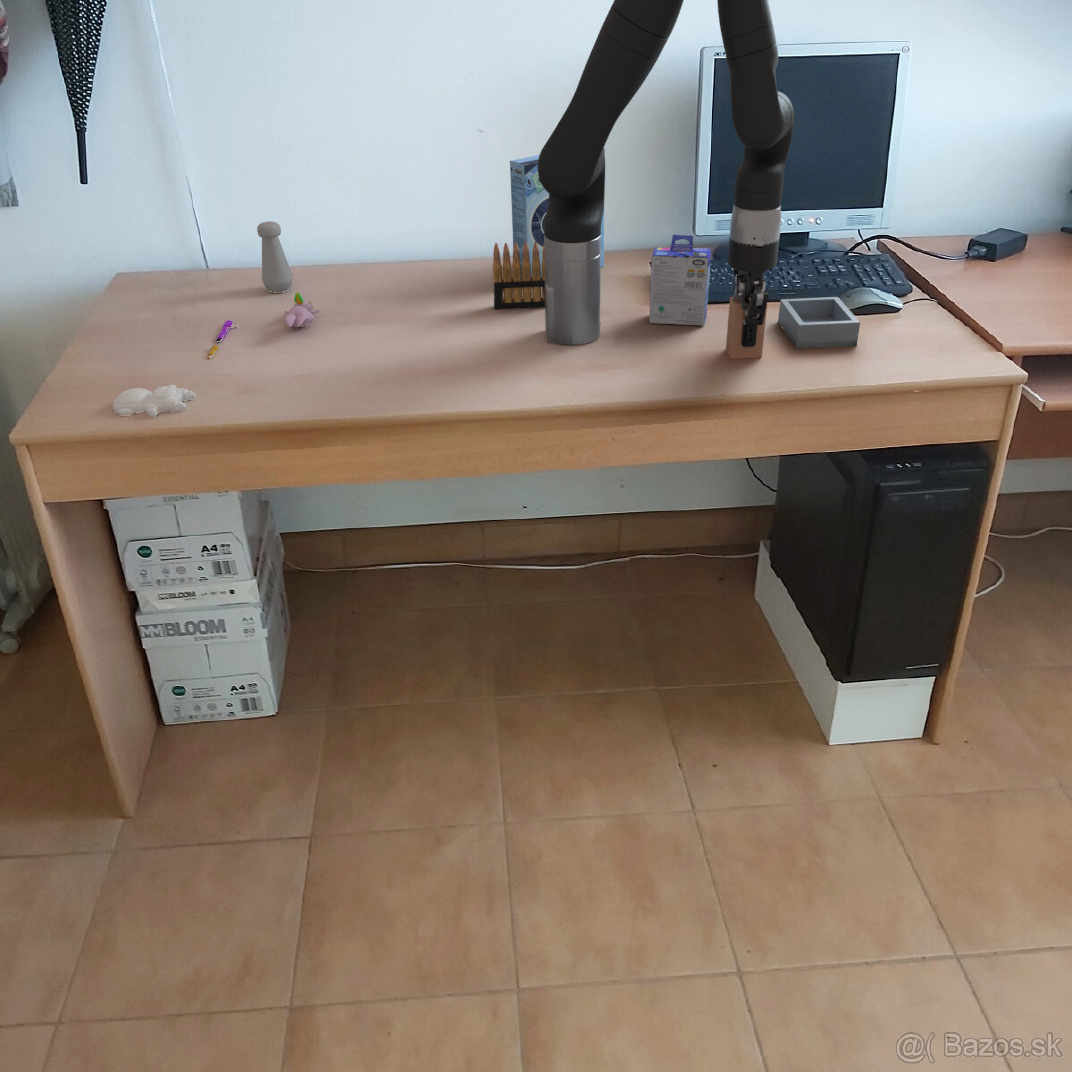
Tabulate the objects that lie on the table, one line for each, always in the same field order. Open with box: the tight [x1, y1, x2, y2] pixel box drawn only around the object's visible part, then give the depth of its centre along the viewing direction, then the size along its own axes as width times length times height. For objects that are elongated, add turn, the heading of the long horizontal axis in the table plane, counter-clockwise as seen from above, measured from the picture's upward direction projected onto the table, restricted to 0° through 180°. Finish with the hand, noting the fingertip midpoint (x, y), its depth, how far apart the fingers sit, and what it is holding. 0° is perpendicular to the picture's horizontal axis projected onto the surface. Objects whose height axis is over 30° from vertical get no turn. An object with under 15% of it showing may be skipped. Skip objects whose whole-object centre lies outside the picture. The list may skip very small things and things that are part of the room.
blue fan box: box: [509, 147, 606, 278], centre depth 193 cm, size 20×5×23 cm, turn 127°
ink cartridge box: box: [648, 234, 712, 326], centre depth 173 cm, size 10×6×14 cm, turn 78°
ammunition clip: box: [492, 241, 545, 311], centre depth 182 cm, size 11×2×12 cm, turn 93°
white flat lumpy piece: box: [112, 384, 197, 418], centre depth 153 cm, size 9×12×3 cm
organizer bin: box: [777, 296, 861, 349], centre depth 169 cm, size 10×12×4 cm
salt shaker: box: [256, 220, 294, 292], centre depth 192 cm, size 6×6×13 cm
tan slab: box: [725, 294, 768, 360], centre depth 161 cm, size 5×4×10 cm
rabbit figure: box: [283, 291, 320, 328], centre depth 179 cm, size 6×6×15 cm
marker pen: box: [207, 319, 234, 358], centre depth 175 cm, size 3×1×16 cm
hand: (744, 340), depth 163 cm, fingers closed on tan slab, 4 cm apart
